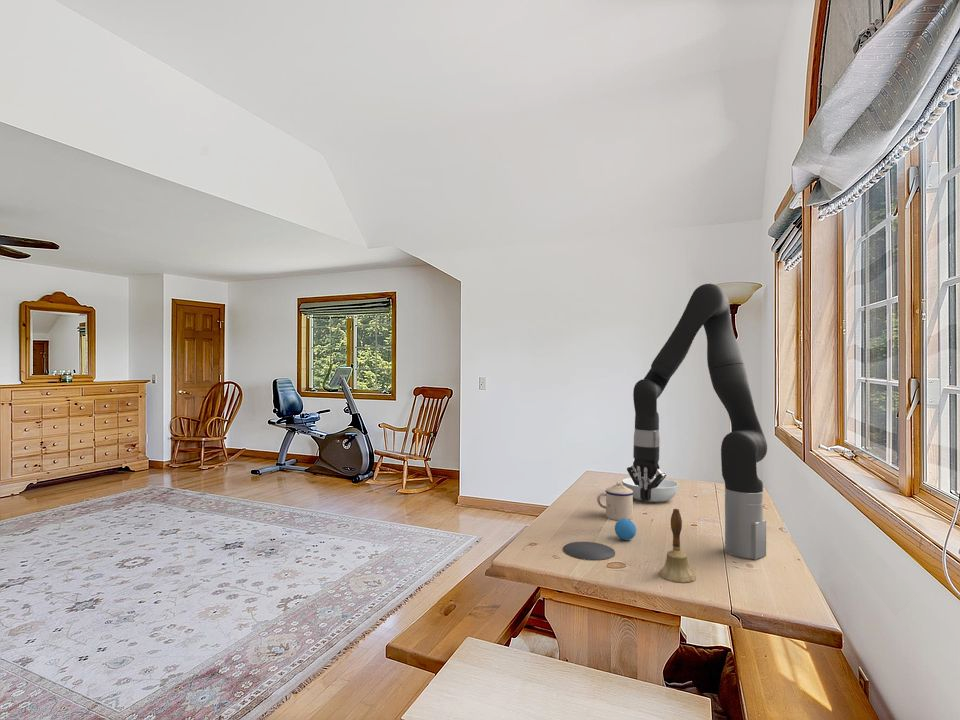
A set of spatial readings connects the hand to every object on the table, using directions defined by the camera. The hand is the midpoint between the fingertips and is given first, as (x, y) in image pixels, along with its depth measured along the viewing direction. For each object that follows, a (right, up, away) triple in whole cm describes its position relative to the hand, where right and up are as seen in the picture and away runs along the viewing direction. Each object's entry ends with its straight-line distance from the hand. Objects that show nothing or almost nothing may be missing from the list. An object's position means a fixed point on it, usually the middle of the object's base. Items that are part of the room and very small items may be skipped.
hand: (645, 500), depth 157 cm
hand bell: (-3, -9, -33) cm, 34 cm away
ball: (-8, -7, -7) cm, 12 cm away
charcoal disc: (-21, -9, -16) cm, 28 cm away
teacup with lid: (-5, -10, +17) cm, 20 cm away
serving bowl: (+15, -11, +41) cm, 45 cm away
